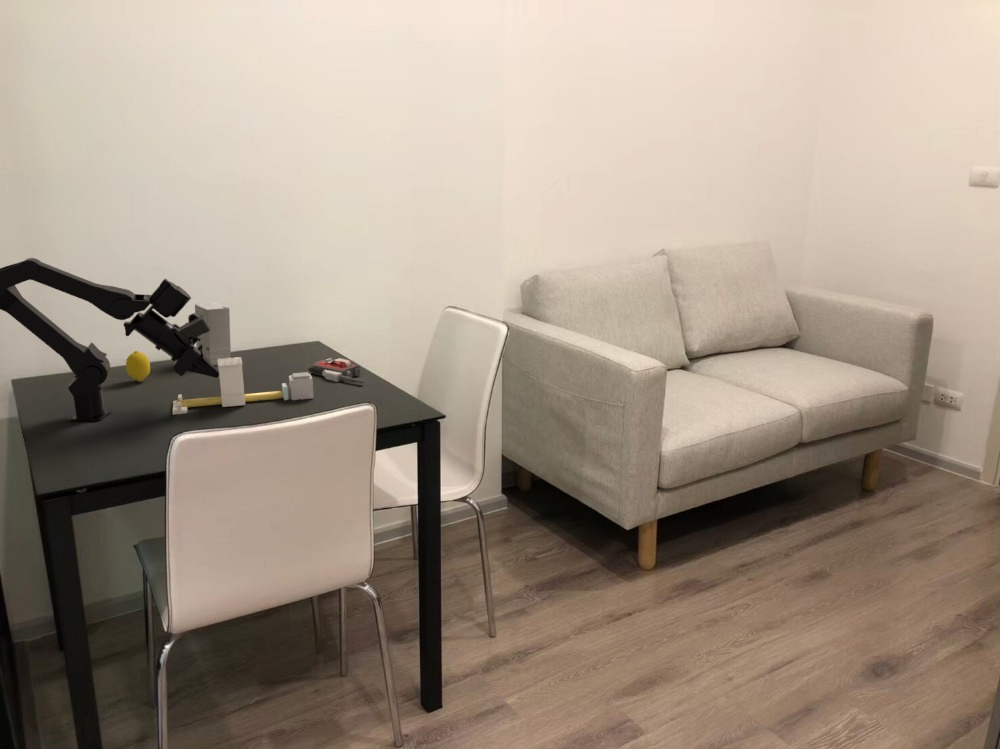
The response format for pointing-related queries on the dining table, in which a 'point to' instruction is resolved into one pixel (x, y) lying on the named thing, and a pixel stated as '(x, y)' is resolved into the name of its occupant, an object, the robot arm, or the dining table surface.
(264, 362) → the dining table surface
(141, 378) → the lemon
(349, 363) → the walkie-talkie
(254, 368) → the dining table surface
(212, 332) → the skincare box
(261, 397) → the wooden handled rake
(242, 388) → the white lidded box
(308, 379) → the grey plastic block
